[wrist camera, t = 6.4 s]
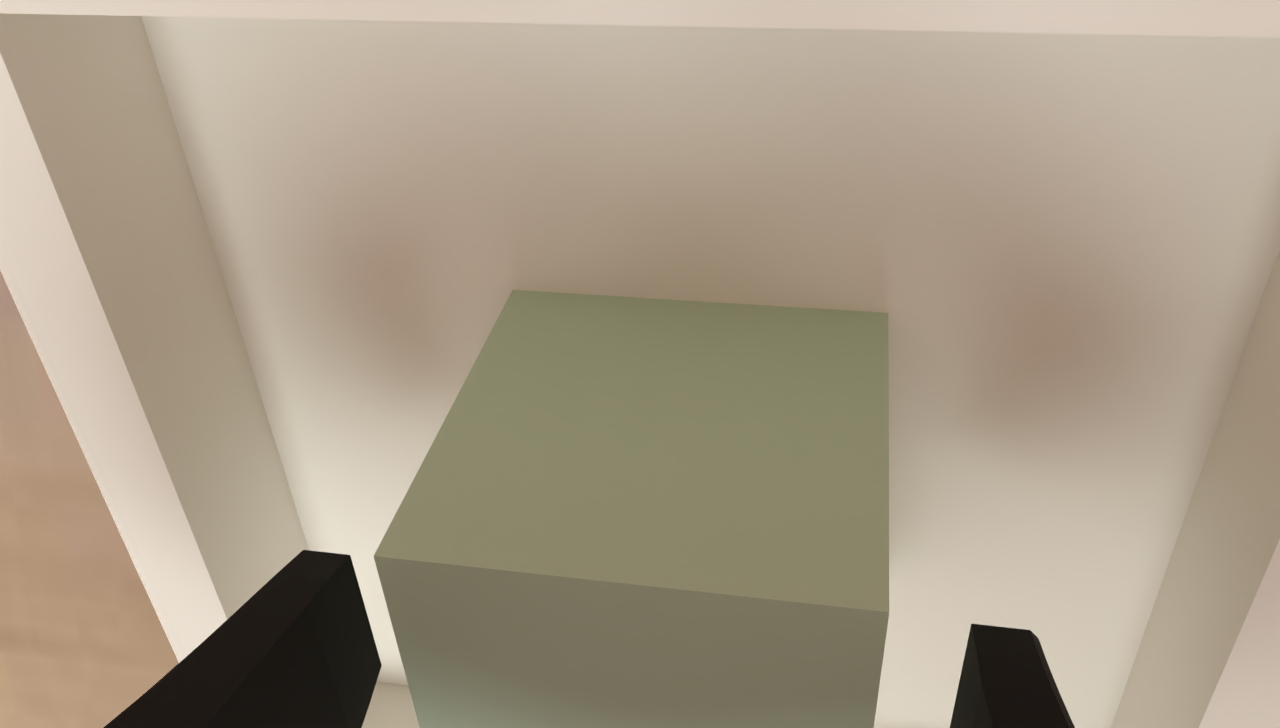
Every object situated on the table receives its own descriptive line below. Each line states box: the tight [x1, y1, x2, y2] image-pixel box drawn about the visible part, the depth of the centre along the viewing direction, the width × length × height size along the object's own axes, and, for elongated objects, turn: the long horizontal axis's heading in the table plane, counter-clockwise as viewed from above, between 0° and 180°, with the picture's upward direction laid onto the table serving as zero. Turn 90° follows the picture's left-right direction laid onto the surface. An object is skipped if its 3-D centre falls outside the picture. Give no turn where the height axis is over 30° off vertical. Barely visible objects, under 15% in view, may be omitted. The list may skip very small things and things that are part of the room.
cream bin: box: [0, 0, 1280, 728], centre depth 15 cm, size 16×16×3 cm
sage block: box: [374, 290, 889, 728], centre depth 14 cm, size 5×5×5 cm
